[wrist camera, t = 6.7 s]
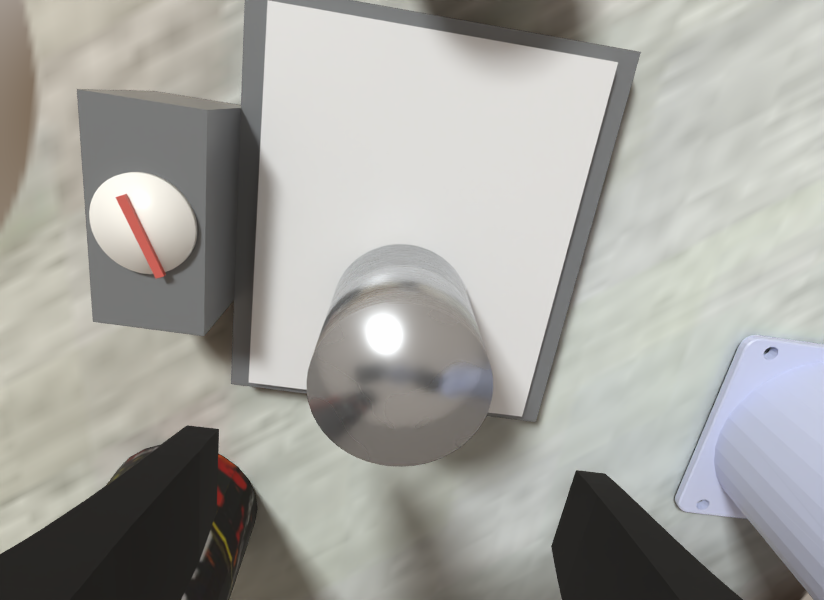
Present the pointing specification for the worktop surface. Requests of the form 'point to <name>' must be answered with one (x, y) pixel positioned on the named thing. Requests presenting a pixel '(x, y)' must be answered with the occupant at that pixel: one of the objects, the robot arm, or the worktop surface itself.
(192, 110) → the scale
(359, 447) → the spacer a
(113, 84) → the worktop surface
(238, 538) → the deodorant
